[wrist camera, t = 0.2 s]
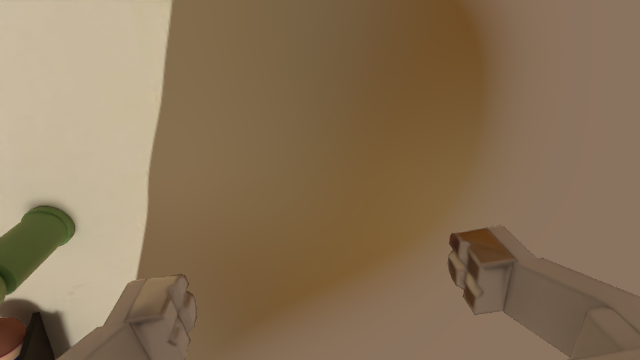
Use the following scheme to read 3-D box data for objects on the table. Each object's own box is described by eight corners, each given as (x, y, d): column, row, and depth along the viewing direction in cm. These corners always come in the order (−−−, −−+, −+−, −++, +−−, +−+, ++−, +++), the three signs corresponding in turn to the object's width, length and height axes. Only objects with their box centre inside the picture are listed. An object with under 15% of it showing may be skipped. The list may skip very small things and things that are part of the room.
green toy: (33, 198, 34) (-84, 283, 23) (81, 218, 35) (-9, 307, 24) (20, 230, 35) (-95, 323, 24) (67, 248, 36) (-24, 344, 26)
